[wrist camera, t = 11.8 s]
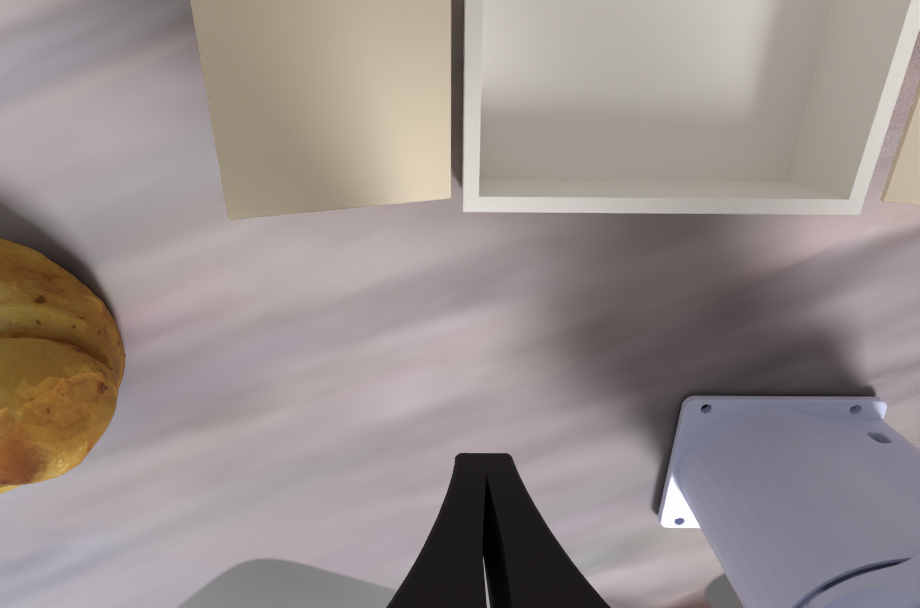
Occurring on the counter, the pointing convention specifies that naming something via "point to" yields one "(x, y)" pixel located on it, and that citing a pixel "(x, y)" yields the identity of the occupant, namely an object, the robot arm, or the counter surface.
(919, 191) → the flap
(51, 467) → the bread roll
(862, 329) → the counter surface
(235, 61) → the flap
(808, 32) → the carton
